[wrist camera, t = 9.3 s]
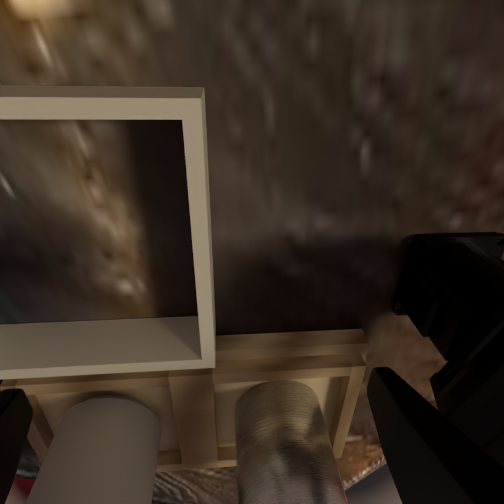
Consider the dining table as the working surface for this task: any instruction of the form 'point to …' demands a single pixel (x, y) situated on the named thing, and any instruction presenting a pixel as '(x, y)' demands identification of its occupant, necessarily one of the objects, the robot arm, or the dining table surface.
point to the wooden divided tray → (214, 392)
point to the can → (101, 454)
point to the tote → (204, 325)
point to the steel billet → (284, 447)
